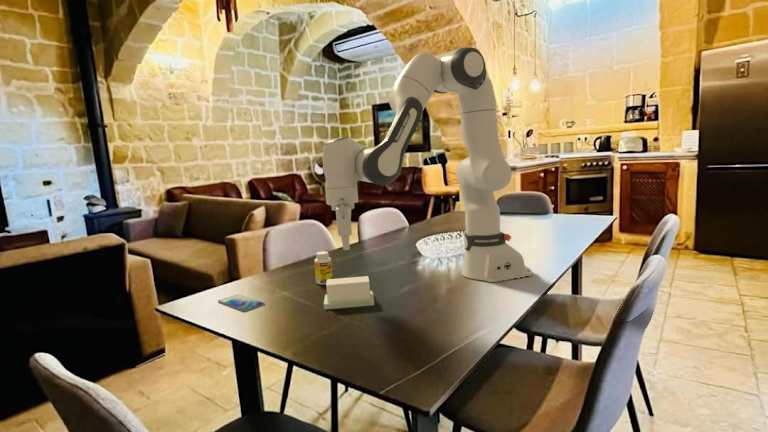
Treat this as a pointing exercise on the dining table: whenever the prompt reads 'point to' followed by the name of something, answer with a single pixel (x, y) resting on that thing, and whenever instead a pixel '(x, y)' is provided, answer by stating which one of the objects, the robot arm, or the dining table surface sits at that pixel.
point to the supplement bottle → (323, 267)
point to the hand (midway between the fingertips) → (346, 245)
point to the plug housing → (348, 289)
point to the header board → (349, 303)
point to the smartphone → (241, 303)
